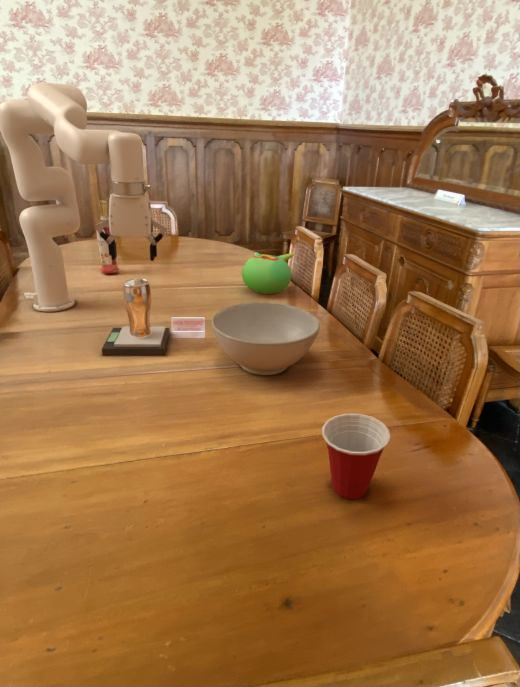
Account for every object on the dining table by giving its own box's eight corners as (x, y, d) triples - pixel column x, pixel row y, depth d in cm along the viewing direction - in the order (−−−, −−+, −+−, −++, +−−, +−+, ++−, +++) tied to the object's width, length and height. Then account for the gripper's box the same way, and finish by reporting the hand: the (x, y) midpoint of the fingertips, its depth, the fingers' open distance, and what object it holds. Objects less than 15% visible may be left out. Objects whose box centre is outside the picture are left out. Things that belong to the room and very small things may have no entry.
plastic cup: (310, 467, 85) (316, 411, 80) (369, 465, 86) (378, 410, 81) (323, 512, 75) (330, 452, 70) (388, 509, 76) (400, 450, 71)
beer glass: (147, 341, 125) (143, 287, 119) (123, 338, 126) (117, 284, 120) (157, 331, 131) (154, 279, 125) (134, 328, 132) (129, 277, 126)
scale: (102, 355, 123) (101, 345, 122) (113, 333, 135) (112, 324, 134) (164, 355, 124) (163, 345, 123) (170, 333, 137) (169, 325, 135)
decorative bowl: (325, 351, 129) (329, 310, 124) (301, 399, 106) (305, 351, 101) (235, 335, 137) (235, 296, 131) (193, 377, 114) (192, 331, 108)
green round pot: (234, 295, 169) (235, 255, 163) (252, 282, 183) (253, 245, 177) (281, 302, 163) (283, 261, 157) (296, 289, 177) (299, 250, 171)
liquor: (123, 272, 190) (117, 201, 178) (109, 277, 184) (101, 203, 172) (111, 269, 193) (103, 199, 181) (96, 273, 187) (88, 201, 176)
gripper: (166, 188, 116) (169, 256, 124) (95, 185, 115) (102, 254, 123) (163, 192, 110) (166, 264, 117) (87, 189, 108) (95, 262, 116)
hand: (133, 258), depth 120 cm, fingers open, 9 cm apart
